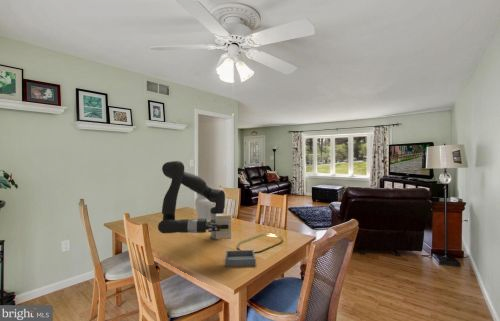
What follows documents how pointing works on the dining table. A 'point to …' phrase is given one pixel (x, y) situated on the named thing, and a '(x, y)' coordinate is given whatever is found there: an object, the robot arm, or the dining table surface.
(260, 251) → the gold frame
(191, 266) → the dining table surface
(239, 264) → the organiser tray
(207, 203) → the vase
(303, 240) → the dining table surface
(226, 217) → the supplement box
